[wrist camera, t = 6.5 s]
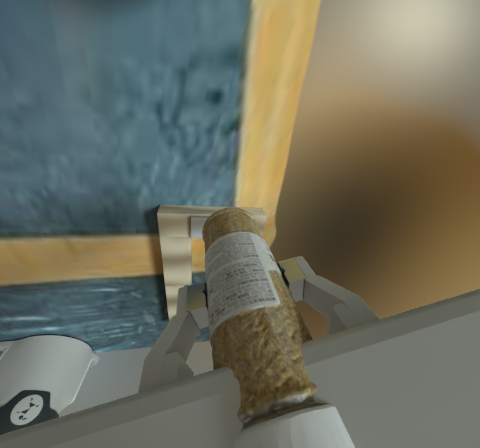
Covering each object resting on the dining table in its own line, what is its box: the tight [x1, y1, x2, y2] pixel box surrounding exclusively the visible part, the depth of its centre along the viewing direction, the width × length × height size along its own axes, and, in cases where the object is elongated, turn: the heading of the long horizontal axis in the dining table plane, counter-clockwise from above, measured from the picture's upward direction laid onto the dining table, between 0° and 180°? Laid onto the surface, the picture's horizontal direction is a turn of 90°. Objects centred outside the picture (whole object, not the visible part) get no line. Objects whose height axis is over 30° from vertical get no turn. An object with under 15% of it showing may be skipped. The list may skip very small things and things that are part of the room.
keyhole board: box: [157, 205, 267, 322], centre depth 36 cm, size 28×16×3 cm, turn 172°
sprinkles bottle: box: [202, 207, 355, 448], centre depth 10 cm, size 5×5×13 cm
